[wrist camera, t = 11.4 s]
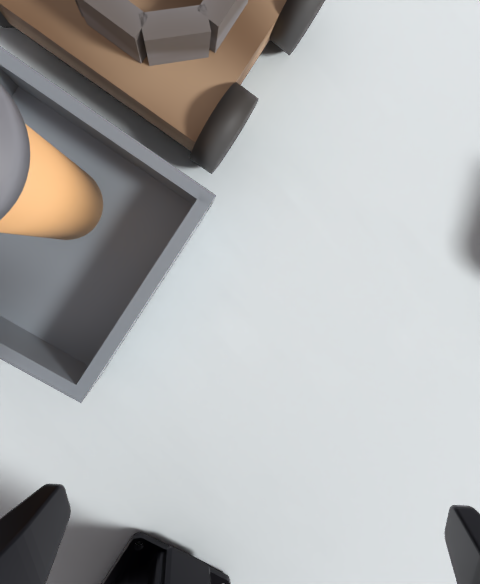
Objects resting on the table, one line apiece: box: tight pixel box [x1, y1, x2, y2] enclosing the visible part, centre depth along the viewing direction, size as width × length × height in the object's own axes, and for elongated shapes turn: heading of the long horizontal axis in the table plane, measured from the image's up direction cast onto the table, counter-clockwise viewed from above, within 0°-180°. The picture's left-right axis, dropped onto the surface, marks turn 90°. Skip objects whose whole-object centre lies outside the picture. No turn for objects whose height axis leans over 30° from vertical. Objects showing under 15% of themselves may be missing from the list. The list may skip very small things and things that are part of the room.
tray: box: [0, 46, 216, 403], centre depth 18 cm, size 11×11×4 cm
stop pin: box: [0, 83, 103, 240], centre depth 13 cm, size 4×4×11 cm
